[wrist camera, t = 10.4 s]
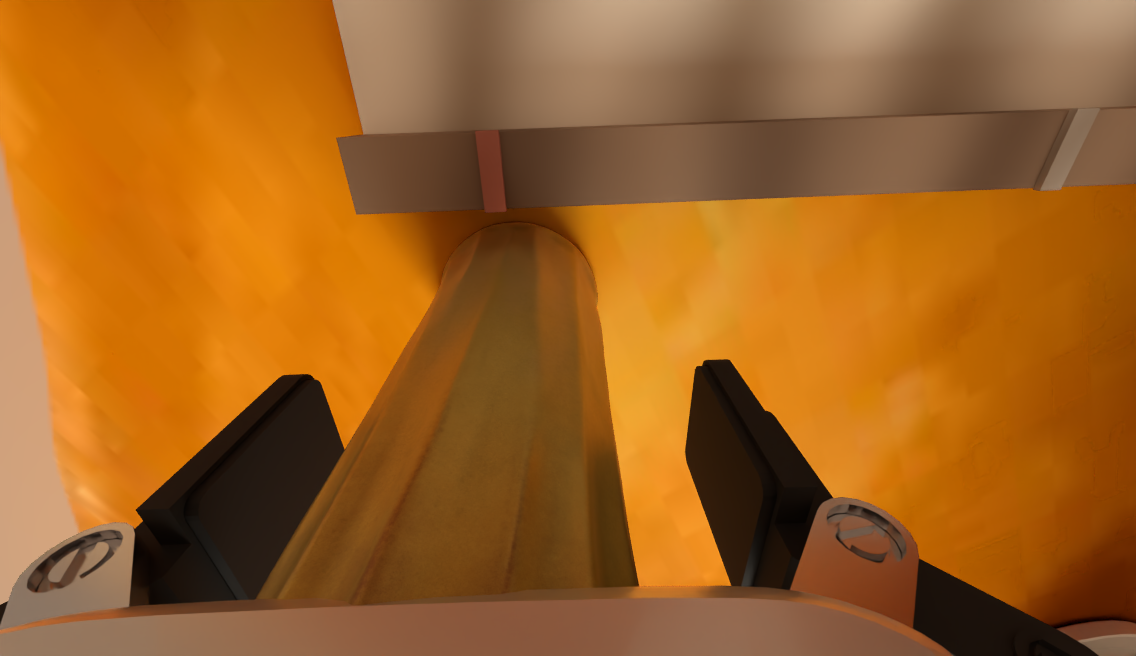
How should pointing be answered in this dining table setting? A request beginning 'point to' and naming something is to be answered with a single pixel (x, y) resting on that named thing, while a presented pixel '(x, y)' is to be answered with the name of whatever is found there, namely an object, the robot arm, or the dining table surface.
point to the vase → (478, 445)
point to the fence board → (731, 99)
